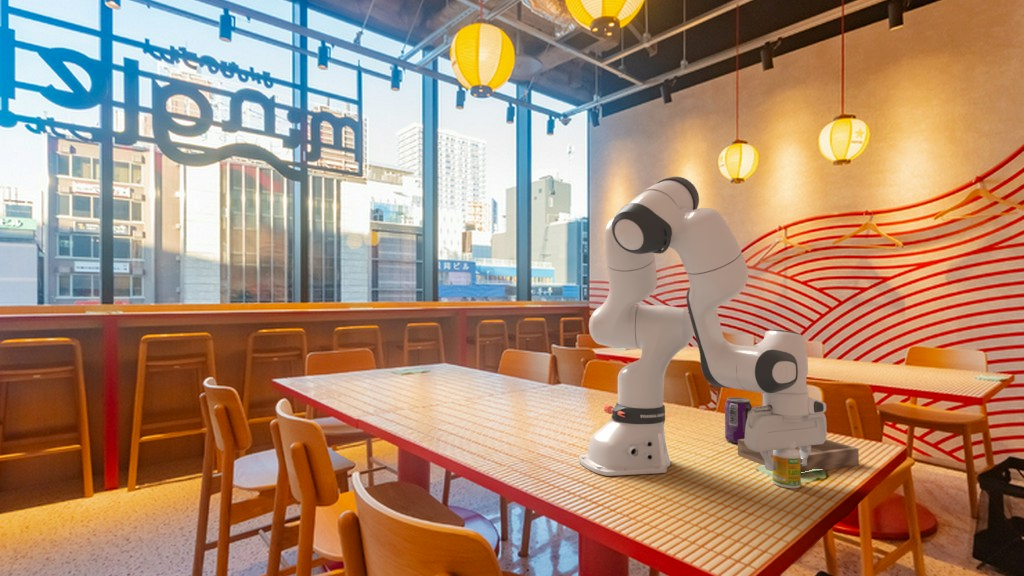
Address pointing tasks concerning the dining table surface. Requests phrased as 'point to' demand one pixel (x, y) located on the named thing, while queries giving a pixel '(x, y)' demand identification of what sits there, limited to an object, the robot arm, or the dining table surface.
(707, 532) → the dining table surface
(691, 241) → the robot arm
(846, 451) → the serving tray
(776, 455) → the supplement bottle
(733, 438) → the beverage can
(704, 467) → the dining table surface
